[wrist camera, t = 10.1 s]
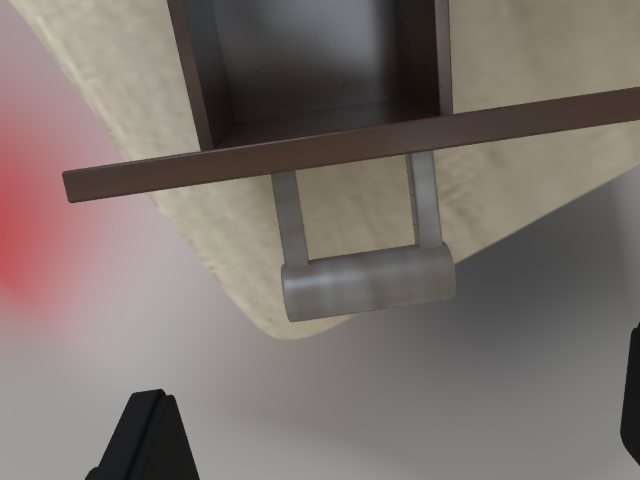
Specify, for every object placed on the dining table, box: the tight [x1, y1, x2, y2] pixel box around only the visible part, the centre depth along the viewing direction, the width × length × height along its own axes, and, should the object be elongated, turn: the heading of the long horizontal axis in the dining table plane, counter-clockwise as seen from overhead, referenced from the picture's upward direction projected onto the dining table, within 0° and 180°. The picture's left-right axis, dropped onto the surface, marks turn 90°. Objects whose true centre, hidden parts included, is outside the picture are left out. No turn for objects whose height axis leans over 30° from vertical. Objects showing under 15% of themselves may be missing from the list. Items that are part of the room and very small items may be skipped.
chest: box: [167, 0, 453, 151], centre depth 32 cm, size 16×15×12 cm
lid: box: [62, 87, 640, 322], centre depth 21 cm, size 16×15×5 cm
